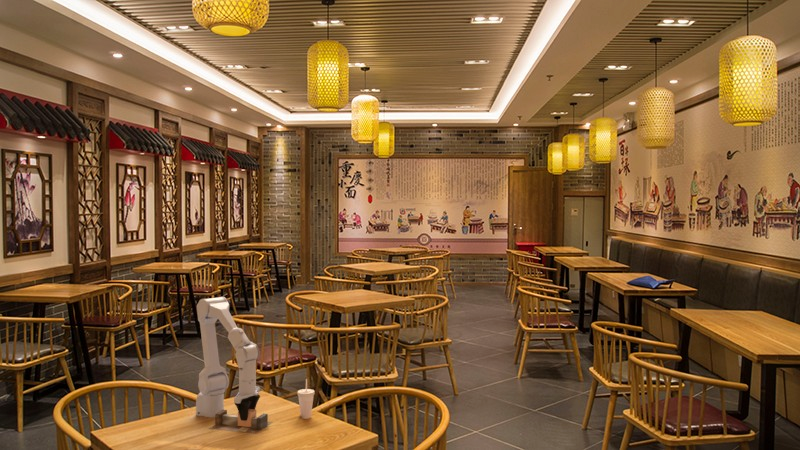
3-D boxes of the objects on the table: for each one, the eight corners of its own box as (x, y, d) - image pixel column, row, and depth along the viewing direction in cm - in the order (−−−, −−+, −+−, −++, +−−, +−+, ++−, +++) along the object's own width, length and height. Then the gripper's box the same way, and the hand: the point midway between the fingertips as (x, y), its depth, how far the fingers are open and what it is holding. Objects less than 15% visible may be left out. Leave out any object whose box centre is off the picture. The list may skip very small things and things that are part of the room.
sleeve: (237, 425, 210) (237, 411, 210) (243, 422, 214) (243, 408, 214) (250, 427, 209) (250, 413, 209) (256, 423, 213) (256, 409, 213)
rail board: (209, 431, 209) (209, 416, 208) (227, 420, 220) (227, 406, 220) (256, 436, 204) (256, 421, 204) (272, 424, 216) (272, 410, 215)
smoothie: (316, 414, 227) (316, 377, 227) (312, 420, 221) (312, 382, 220) (299, 414, 228) (299, 377, 228) (295, 419, 221) (295, 381, 221)
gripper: (247, 385, 203) (247, 425, 203) (267, 375, 217) (267, 412, 217) (228, 384, 205) (228, 424, 205) (249, 373, 219) (249, 410, 219)
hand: (247, 418), depth 211 cm, fingers closed on sleeve, 4 cm apart
